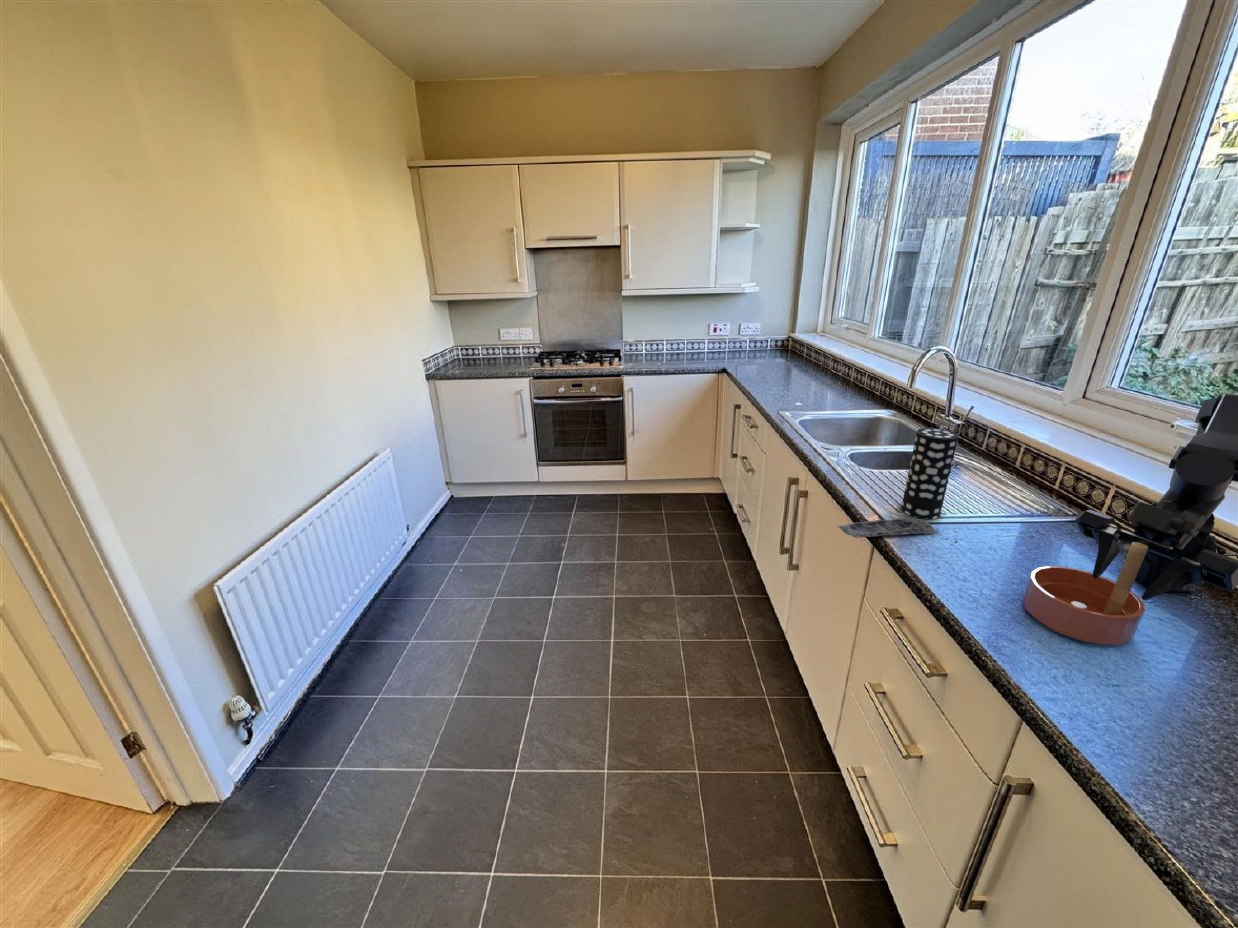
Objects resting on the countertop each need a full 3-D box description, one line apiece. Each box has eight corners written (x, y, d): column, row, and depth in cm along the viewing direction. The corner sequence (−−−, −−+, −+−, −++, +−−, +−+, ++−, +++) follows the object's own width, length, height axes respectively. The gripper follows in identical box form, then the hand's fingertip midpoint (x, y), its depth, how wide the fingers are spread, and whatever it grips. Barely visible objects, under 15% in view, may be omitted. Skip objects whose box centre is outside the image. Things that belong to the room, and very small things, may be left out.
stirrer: (1040, 601, 89) (1067, 524, 83) (1045, 597, 90) (1072, 521, 84) (1111, 632, 81) (1145, 549, 76) (1115, 627, 82) (1150, 545, 77)
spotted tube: (919, 501, 128) (935, 426, 121) (948, 515, 121) (968, 436, 114) (893, 506, 126) (908, 430, 119) (921, 521, 119) (939, 441, 111)
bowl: (1086, 595, 92) (1097, 567, 90) (1156, 650, 79) (1171, 619, 77) (1003, 592, 93) (1011, 564, 91) (1058, 646, 80) (1070, 615, 78)
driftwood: (920, 520, 119) (922, 512, 118) (940, 535, 113) (942, 526, 112) (836, 527, 117) (837, 519, 117) (851, 542, 111) (852, 534, 110)
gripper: (1100, 464, 84) (1040, 537, 84) (1268, 510, 68) (1194, 600, 68) (1111, 499, 90) (1055, 566, 90) (1268, 548, 74) (1200, 631, 74)
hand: (1117, 587), depth 80 cm, fingers open, 6 cm apart
